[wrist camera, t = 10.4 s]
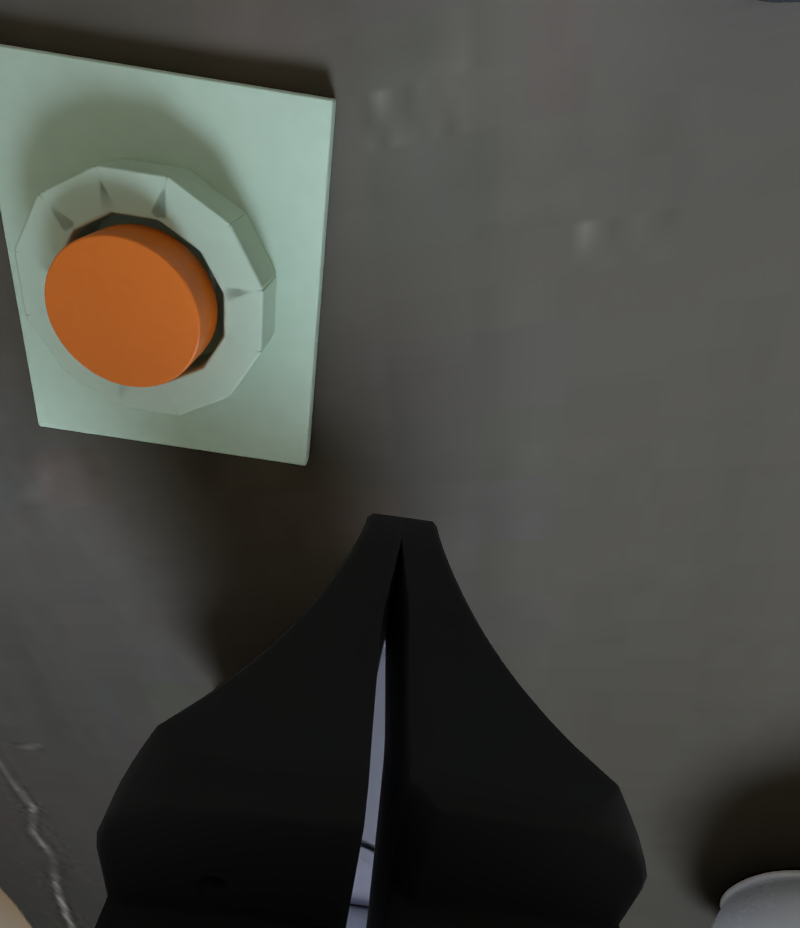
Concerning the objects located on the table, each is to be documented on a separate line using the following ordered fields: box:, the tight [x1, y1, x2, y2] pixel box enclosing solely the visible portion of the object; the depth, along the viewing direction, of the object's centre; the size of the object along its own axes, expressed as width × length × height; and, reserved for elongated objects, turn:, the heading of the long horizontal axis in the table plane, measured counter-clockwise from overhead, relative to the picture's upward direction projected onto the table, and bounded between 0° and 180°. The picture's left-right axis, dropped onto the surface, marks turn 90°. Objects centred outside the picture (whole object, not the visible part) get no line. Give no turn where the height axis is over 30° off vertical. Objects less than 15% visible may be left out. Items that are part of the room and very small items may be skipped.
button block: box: [0, 44, 336, 466], centre depth 20 cm, size 12×10×2 cm
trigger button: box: [44, 223, 218, 387], centre depth 18 cm, size 4×4×2 cm
